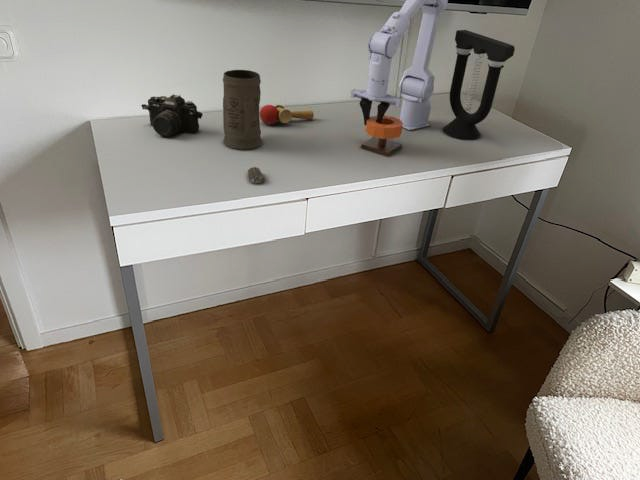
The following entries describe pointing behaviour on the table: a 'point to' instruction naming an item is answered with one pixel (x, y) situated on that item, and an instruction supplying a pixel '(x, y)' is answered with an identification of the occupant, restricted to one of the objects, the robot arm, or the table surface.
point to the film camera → (172, 115)
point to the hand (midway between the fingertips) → (371, 125)
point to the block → (255, 175)
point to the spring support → (497, 56)
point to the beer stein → (241, 109)
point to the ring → (384, 127)
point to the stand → (381, 146)
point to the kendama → (282, 114)
